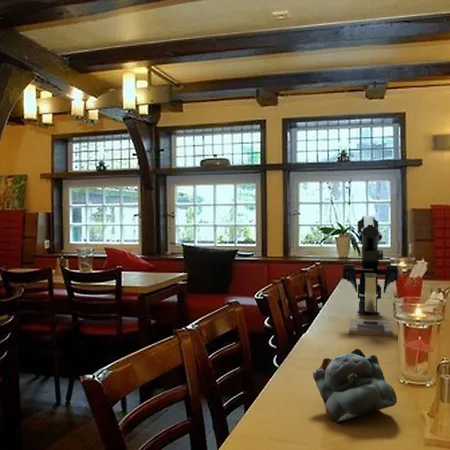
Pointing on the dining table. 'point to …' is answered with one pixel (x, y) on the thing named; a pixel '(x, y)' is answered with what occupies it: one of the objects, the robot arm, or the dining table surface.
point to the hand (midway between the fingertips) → (370, 291)
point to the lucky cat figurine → (353, 386)
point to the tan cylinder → (370, 292)
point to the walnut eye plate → (354, 329)
